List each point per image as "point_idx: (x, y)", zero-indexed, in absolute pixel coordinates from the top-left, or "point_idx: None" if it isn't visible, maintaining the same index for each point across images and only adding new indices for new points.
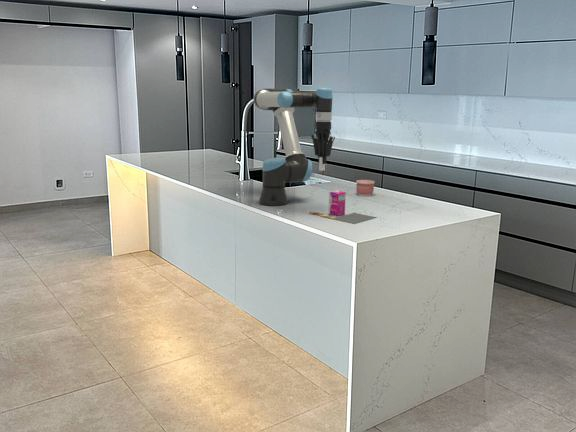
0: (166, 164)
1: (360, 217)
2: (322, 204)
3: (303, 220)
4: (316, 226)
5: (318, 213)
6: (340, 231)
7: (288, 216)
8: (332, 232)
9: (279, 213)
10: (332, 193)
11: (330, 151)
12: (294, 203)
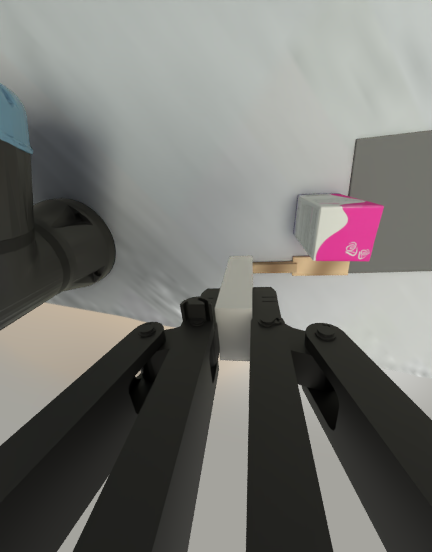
0: None
1: (416, 186)
2: (165, 116)
3: None
4: None
5: (282, 272)
6: (428, 347)
7: None
8: (413, 364)
9: None
10: (332, 260)
11: (385, 386)
12: (105, 194)
